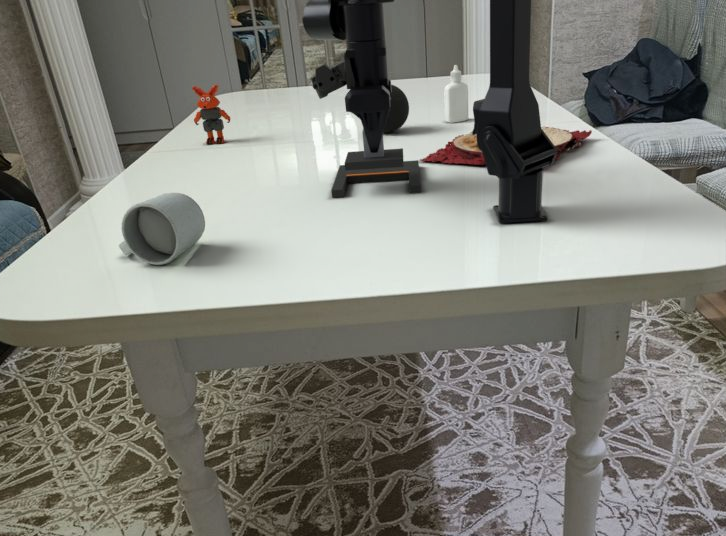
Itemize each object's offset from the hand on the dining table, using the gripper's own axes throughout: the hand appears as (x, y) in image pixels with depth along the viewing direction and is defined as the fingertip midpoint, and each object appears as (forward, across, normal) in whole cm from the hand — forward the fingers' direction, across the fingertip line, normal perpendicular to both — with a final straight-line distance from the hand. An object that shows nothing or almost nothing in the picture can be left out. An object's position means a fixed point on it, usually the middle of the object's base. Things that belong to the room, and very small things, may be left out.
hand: (374, 150), depth 100 cm
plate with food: (+6, -20, +24) cm, 32 cm away
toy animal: (+6, -45, -38) cm, 59 cm away
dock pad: (+6, -4, 0) cm, 7 cm away
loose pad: (+2, 0, 0) cm, 2 cm away
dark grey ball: (+6, -45, +1) cm, 46 cm away
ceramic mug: (+6, +25, -27) cm, 37 cm away
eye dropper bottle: (+6, -53, +17) cm, 56 cm away
